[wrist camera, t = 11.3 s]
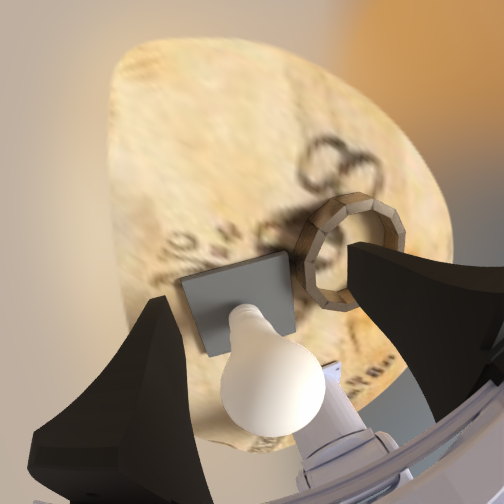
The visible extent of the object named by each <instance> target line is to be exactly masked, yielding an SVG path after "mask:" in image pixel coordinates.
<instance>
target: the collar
mask: <svg viewBox="0 0 504 504" xmlns="http://www.w3.org/2000/svg"><path fill="white" fill-rule="evenodd" d="M371 209H373V210H375V211H376V212H377V214H378V215H379V217H380V219H381V221H382V223H383V225H384V227H385V234H384V247H385V248H389V249H392V250H396V251H399V252H403V253H404V246H405V234H406V232H405V229H404V226H403V224H402V222H401V220H400V217H399V215H398V213H397V211H396V209H394V208H392V207H390V206H388V205H386V204H384V203H382V202H380V201H378V200H376V199H374V198H372V197H370V196H368V195H365V194H363V193H361V192H356V193H352V194H347V195H342V196H337V197H333V198H331V199H330V200H329V201H327V202H326V203H325V204H324V205H323V206H322V207H321V208H320V209H318V210H317V211H316V212H315V213H314V214H313V215H312V216H311V217H309V218H308V219H307V221H306V223H305V225H304V228H303V230H302V233H301V235H300V237H299V240H298V242H297V244H296V247H295V249H294V256H295V266H296V276H297V279H298V281H299V282H300V283H301V285H302V286H303V287H304V289H305V290H306V291H307V292H308V294H309V295H310V296H311V297H312V298H313V299H314V300H315V301H316V302H317V303H318V305H319V306H320V307H321V308H322V309H327V310H334V311H341V312H347V311H350V310H353V309H355V308H358V307H360V306H359V305H358V303H357V302H356V300H355V299H354V298H353V296H352V294H351V293H350V291H349V290H348V288H347V289H344V290H342V291H339V292H334V291H329V290H324V289H319V288H318V287H317V286H316V277H315V260H316V257H317V255H318V253H319V251H320V249H321V246H322V244H323V242H324V240H325V237H326V235H327V234H328V233H329V232H330V231H331V230H332V229H334V228H335V227H336V226H337V225H338V224H339V223H340V222H341V221H342V220H344V219H345V218H346V217H347V216H348V215H351V214H355V213H359V212H363V211H367V210H371Z"/></svg>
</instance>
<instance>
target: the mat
mask: <svg viewBox="0 0 504 504" xmlns="http://www.w3.org/2000/svg"><path fill="white" fill-rule="evenodd" d="M181 283H182V286H183V289H184V291H185V294H186V297H187V300H188V303H189V306H190V309H191V311H192V314H193V317H194V320H195V322H196V325H197V328H198V331H199V333H200V336H201V339H202V341H203V344H204V346H205V349H206V352H207V354H208V357H213V356H217V355H221V354H225V353H228V352H231V342H230V333H231V330H230V326H229V314H230V313H231V311H232V310H233V309H234V308H235V307H237V306H239V305H242V304H252V305H255V306H256V307H257V308H258V309H259V310H260V312H261V313H262V315H263V317H264V318H265V319H266V320H267V321H268V322H270V324H271V325H272V327H273V329H274V330H275V331H276V332H277V333H278V334H279V335H280V336H282V337H283V336H286V335H289V334H292V333H295V332H296V326H295V316H294V306H293V296H292V286H291V277H290V268H289V259H288V253H287V252H286V251H285V250H284V251H281V252H277V253H273V254H269V255H266V256H262V257H258V258H255V259H251V260H247V261H243V262H240V263H236V264H232V265H228V266H224V267H221V268H217V269H213V270H209V271H206V272H202V273H198V274H194V275H190V276H187V277H183V278H181Z"/></svg>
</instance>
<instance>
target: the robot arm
mask: <svg viewBox="0 0 504 504" xmlns="http://www.w3.org/2000/svg"><path fill="white" fill-rule="evenodd" d="M347 252H348V267H347V288H348V290H349V291H350V293H351V294H352V296H353V298H354V299H355V300H356V302H357V303H358V305H359V306H360V307H361V308H362V310H363V311H364V312H365V313H366V314H367V315H368V316H369V317H370V319H371V320H372V321H373V322H374V323H375V324H376V325H377V326H378V327H379V329H380V330H381V331H382V332H383V333H384V334H385V335H386V336H387V338H388V339H389V340H390V341H391V342H392V344H393V345H394V346H395V347H396V349H397V350H398V352H399V353H400V355H401V356H402V358H403V359H404V361H405V362H406V364H407V365H408V367H409V369H410V370H411V372H412V374H413V376H414V377H415V379H416V381H417V382H418V384H419V386H420V388H421V390H422V392H423V394H424V396H425V398H426V400H427V403H428V405H429V407H430V409H431V412H432V414H433V416H434V419H435V422H436V424H435V425H434V426H432V427H430V428H429V429H428V430H426V431H424V432H423V433H421V434H420V435H418V436H417V437H416V438H414V439H412V440H410V441H409V442H407V443H406V444H404V445H402V446H401V447H398V445H397V444H396V442H395V441H394V440H393V439H392V437H391V436H390V435H389V434H387V433H384V432H381V431H378V432H376V433H375V434H374V433H373V431H372V430H371V428H368V429H367V428H366V426H365V425H364V423H363V422H362V420H361V419H360V417H359V415H358V413H357V412H356V410H355V409H354V407H353V405H352V404H351V402H350V401H349V399H348V397H347V396H346V394H345V393H344V391H343V389H342V388H341V386H340V376H341V365H342V364H341V362H340V361H336V362H334V363H331V364H329V365H326V366H324V367H322V371H323V374H324V379H325V394H324V399H323V402H322V405H321V407H320V409H319V411H318V413H317V414H316V415H315V417H314V418H313V419H312V420H311V421H310V422H309V423H308V424H307V425H306V426H304V427H303V428H301V429H300V430H298V431H296V432H294V433H292V435H293V437H294V440H295V442H296V444H297V446H298V449H299V451H300V453H301V456H302V458H303V460H304V461H302V462H301V463H302V465H303V468H304V469H302V470H300V471H299V472H298V475H297V477H296V483H297V487H298V490H299V493H297V494H294V495H290V496H287V497H284V498H280V499H277V500H273V501H270V502H266V503H262V504H356V503H358V502H361V501H362V500H364V499H366V498H368V497H370V496H372V495H374V494H376V493H378V492H380V491H381V490H383V489H385V488H387V487H388V486H390V485H391V487H390V488H389V489H387V490H386V491H385V492H383V493H381V494H380V495H378V496H376V497H374V498H372V499H370V500H368V501H366V502H365V503H362V504H504V267H476V266H465V265H455V264H450V263H444V262H438V261H434V260H429V259H425V258H421V257H417V256H413V255H410V254H406V253H403V252H399V251H396V250H392V249H389V248H385V247H382V246H378V245H374V244H370V243H366V242H357V243H354V244H350V245H347ZM471 422H472V423H471ZM470 423H471V424H470ZM468 424H470V425H469V426H468V427H467V428H466V429H465V430H464V431H463V432H462V433H461V434H460V435H459V437H458V438H457V440H456V441H455V442H454V443H453V444H452V445H451V446H450V448H448V450H446V451H445V453H443V454H442V455H441V456H440V457H439V458H438V462H437V463H436V464H434V465H433V466H432V467H430V468H429V469H428V470H426V471H424V472H423V473H421V474H420V475H418V476H417V477H415V478H414V479H413V477H412V475H411V473H410V471H409V469H408V468H410V467H411V466H413V465H414V464H416V463H417V462H419V461H420V460H422V459H423V458H425V457H426V456H428V455H429V454H431V453H432V452H434V451H435V450H436V449H438V448H439V447H440V446H442V445H443V444H445V443H446V442H447V441H449V440H450V439H451V438H453V437H454V436H455V435H456V434H458V433H459V432H460V431H461V430H462V429H464V428H465V427H466V426H467V425H468ZM27 469H28V471H29V473H30V474H31V476H32V477H33V478H34V479H35V480H36V481H38V482H39V483H41V484H42V485H44V486H46V487H47V488H48V489H50V490H52V491H54V492H55V493H57V494H59V495H61V496H63V497H64V498H66V499H68V500H70V504H214V503H213V500H212V497H211V495H210V491H209V489H208V486H207V483H206V479H205V476H204V473H203V469H202V466H201V462H200V458H199V455H198V451H197V447H196V443H195V439H194V434H193V429H192V424H191V420H190V412H189V402H188V387H187V369H186V357H185V351H184V345H183V339H182V335H181V333H180V331H179V328H178V326H177V323H176V321H175V319H174V316H173V314H172V311H171V309H170V306H169V303H168V301H167V298H166V296H165V295H164V296H160V297H156V298H152V299H150V300H149V301H148V303H147V304H146V306H145V308H144V309H143V311H142V313H141V315H140V316H139V318H138V320H137V322H136V323H135V325H134V327H133V328H132V330H131V332H130V333H129V335H128V336H127V338H126V339H125V341H124V342H123V344H122V345H121V347H120V349H119V350H118V352H117V353H116V354H115V356H114V357H113V358H112V360H111V361H110V362H109V364H108V365H107V366H106V367H105V369H104V370H103V371H102V372H101V374H100V375H99V376H98V377H97V378H96V379H95V380H94V381H93V382H92V383H91V385H90V386H89V387H88V388H87V389H86V390H85V391H84V392H83V393H82V394H81V395H80V396H79V397H78V398H77V399H76V400H75V401H73V402H72V404H70V405H69V406H68V407H67V408H66V409H64V410H63V411H62V412H61V413H59V414H58V415H57V416H56V417H54V418H53V419H52V420H50V421H49V422H47V423H46V424H45V425H43V426H42V427H40V428H39V429H37V430H36V431H34V433H33V438H32V443H31V449H30V454H29V460H28V466H27ZM33 504H50V503H45V502H41V501H36V500H35V501H34V502H33Z"/></svg>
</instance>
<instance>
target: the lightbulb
mask: <svg viewBox="0 0 504 504" xmlns="http://www.w3.org/2000/svg"><path fill="white" fill-rule="evenodd" d="M229 326H230V330H231V333H230V342H231V354H230V357H229V359H228V361H227V363H226V366H225V369H224V372H223V374H222V377H221V387H220V395H221V399H222V403H223V406H224V408H225V410H226V412H227V413H228V415H229V416H230V417H231V419H232V420H233V421H234V422H235V423H236V424H237V425H238V426H240V427H241V428H243V429H244V430H246V431H248V432H250V433H252V434H255V435H258V436H265V437H279V436H285V435H288V434H291V433H294V432H296V431H298V430H300V429H301V428H303V427H304V426H306V425H307V424H308V423H309V422H310V421H311V420H312V419H313V418H314V417H315V415H316V414H317V413H318V411H319V409H320V407H321V405H322V402H323V399H324V394H325V379H324V374H323V371H322V367H321V366H320V364H319V362H318V361H317V359H316V358H315V356H314V355H313V354H312V353H311V352H309V351H308V350H307V349H306V348H305V347H304V346H302V345H300V344H298V343H296V342H294V341H292V340H290V339H287V338H285V337H282V336H280V335H279V334H278V333H277V332H276V331H275V330H274V329H273V327H272V325H271V324H270V322H268V321H267V320H266V319H265V318H264V317H263V315H262V313H261V312H260V310H259V309H258V308H257V307H256V306H255V305H252V304H242V305H239V306H237V307H235V308H234V309H233V310H232V311H231V313H230V314H229Z"/></svg>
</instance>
